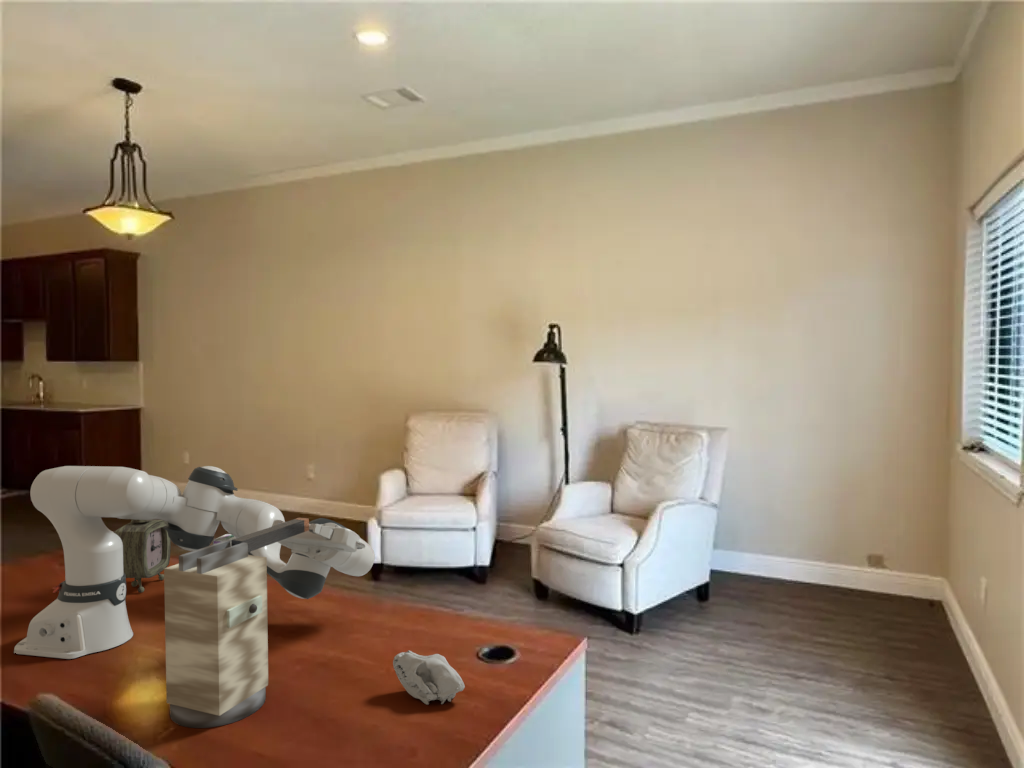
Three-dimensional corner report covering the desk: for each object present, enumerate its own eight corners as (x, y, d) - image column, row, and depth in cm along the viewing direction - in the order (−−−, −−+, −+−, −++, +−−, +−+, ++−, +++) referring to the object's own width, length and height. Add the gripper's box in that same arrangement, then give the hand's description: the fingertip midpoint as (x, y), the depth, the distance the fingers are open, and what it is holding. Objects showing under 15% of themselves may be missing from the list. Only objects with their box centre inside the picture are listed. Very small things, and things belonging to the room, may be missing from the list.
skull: (455, 698, 122) (406, 641, 125) (424, 729, 125) (377, 673, 128) (476, 675, 130) (429, 621, 133) (447, 704, 133) (401, 651, 136)
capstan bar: (242, 554, 129) (241, 541, 129) (231, 553, 130) (231, 539, 130) (309, 530, 147) (308, 518, 147) (299, 529, 148) (299, 517, 148)
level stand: (219, 735, 115) (217, 565, 114) (148, 717, 121) (145, 555, 120) (284, 692, 130) (282, 541, 129) (218, 678, 136) (215, 533, 135)
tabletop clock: (143, 595, 184) (141, 501, 183) (109, 595, 184) (107, 501, 183) (171, 578, 198) (169, 491, 197) (139, 578, 198) (138, 491, 197)
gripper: (365, 562, 151) (331, 545, 139) (288, 553, 158) (250, 535, 147) (372, 534, 153) (340, 514, 142) (297, 526, 161) (260, 507, 150)
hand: (294, 525), depth 145 cm, fingers open, 8 cm apart
